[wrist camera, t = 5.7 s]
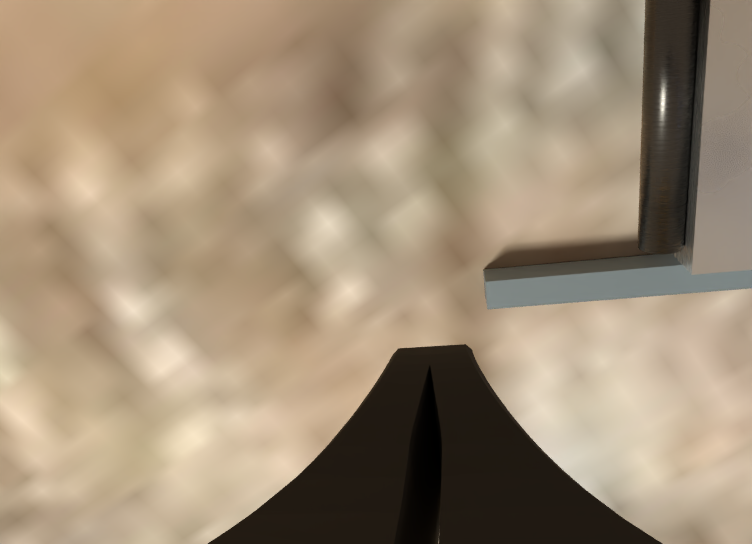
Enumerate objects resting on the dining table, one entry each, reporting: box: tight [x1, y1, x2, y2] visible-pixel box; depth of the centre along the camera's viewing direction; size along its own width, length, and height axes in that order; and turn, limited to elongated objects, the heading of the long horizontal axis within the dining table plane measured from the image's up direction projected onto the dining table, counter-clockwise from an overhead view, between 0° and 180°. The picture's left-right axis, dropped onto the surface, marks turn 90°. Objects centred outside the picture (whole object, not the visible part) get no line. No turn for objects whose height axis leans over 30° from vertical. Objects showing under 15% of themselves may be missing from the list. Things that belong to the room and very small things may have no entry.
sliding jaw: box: [638, 0, 752, 275], centre depth 16 cm, size 4×12×3 cm, turn 8°
